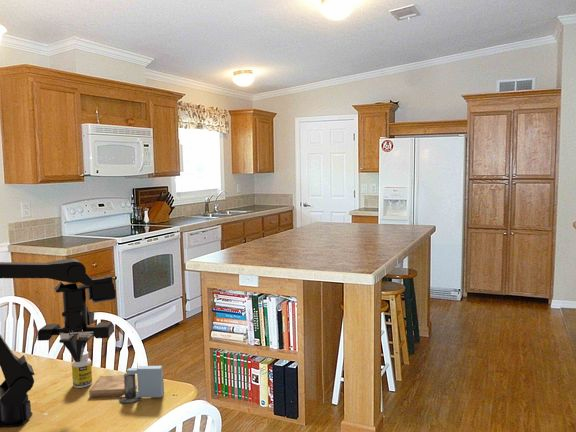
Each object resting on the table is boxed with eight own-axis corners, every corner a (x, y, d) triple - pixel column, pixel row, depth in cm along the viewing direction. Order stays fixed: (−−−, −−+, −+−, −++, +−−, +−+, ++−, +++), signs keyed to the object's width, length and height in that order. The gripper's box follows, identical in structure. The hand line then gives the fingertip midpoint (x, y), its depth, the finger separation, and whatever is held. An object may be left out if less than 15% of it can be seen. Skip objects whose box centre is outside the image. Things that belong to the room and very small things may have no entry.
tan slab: (83, 405, 137) (81, 380, 136) (100, 382, 152) (99, 360, 151) (139, 403, 138) (137, 378, 137) (150, 380, 152) (149, 358, 152)
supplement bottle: (79, 390, 147) (77, 357, 146) (69, 385, 150) (67, 353, 149) (96, 383, 151) (94, 352, 150) (86, 379, 154) (84, 348, 153)
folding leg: (128, 397, 139) (126, 369, 139) (130, 394, 141) (128, 366, 141) (161, 397, 139) (160, 368, 138) (163, 393, 141) (162, 365, 140)
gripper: (118, 297, 144) (121, 349, 145) (52, 299, 143) (55, 352, 144) (106, 307, 133) (109, 364, 134) (34, 310, 132) (38, 367, 133)
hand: (78, 361), depth 137 cm, fingers closed
